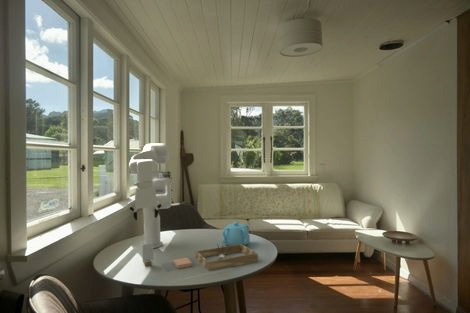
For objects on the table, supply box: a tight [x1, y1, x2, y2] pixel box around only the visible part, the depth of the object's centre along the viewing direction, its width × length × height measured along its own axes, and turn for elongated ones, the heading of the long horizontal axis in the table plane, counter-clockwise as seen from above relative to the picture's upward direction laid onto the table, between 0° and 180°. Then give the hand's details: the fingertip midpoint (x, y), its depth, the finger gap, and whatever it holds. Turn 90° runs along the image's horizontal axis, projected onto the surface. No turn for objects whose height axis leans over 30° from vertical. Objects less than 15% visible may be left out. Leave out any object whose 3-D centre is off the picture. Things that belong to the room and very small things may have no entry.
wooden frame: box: [194, 244, 259, 271], centre depth 149 cm, size 19×27×4 cm
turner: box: [141, 243, 154, 268], centre depth 145 cm, size 11×5×8 cm
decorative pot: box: [221, 221, 251, 246], centre depth 175 cm, size 16×16×14 cm
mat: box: [160, 257, 200, 273], centre depth 142 cm, size 12×16×1 cm
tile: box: [172, 257, 192, 269], centre depth 142 cm, size 2×7×8 cm
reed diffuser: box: [216, 243, 227, 260], centre depth 150 cm, size 10×7×20 cm
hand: (145, 218), depth 147 cm, fingers open, 9 cm apart
